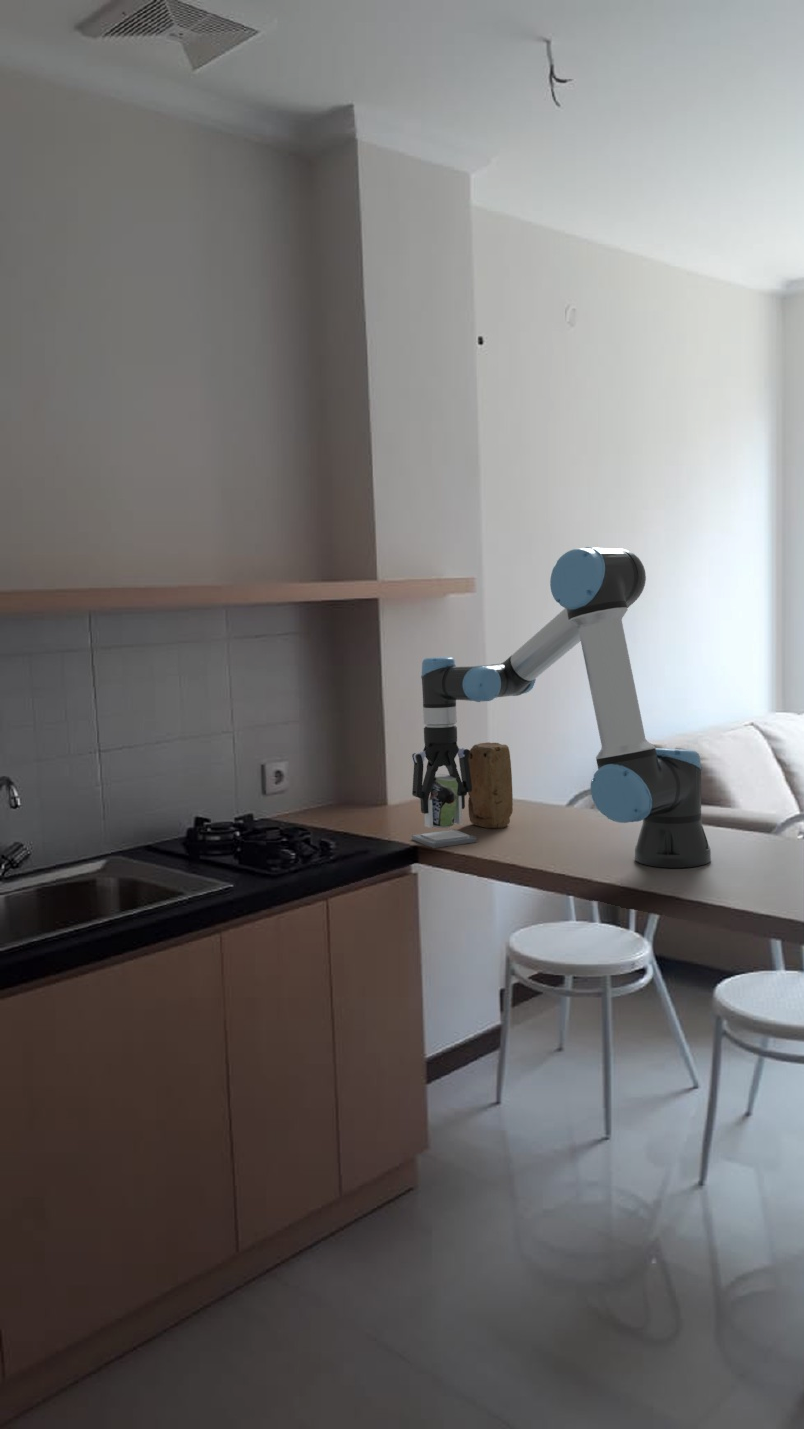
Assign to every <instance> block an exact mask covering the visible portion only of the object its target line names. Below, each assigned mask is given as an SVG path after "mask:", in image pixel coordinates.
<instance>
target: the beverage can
mask: <svg viewBox="0 0 804 1429" xmlns="http://www.w3.org/2000/svg"><path fill="white" fill-rule="evenodd" d="M457 790H458V783H457V781H456V778H454V777H452V776H450V775H449V774H435V778H434V781H433V785H432V788H431V792H430V795H429V799H432V812H433V828H437V829H448V828H450V827H452V826H453V825H455V823H454V817H455V808H456V799H457Z"/></svg>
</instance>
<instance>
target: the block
mask: <svg viewBox="0 0 804 1429" xmlns="http://www.w3.org/2000/svg"><path fill="white" fill-rule="evenodd" d="M469 751H470V754H469V759H468V760H469V768H470V775H471V783H472V791H471V792H467V795H468V804H467V805H468V818H469V822H470V823H471V824H473V825H475V826H479V827H481V828H485V829H501V828H506V827H507V826H508V825H509V824H510V823H511V816H512V814H513V809H514V808H513V805H514V803H513V799H514V798H513V796H514V795H513V794H514V793H513V777H512V776H513V775H512V774H513V773H512V760H511V754H510V753H511V752H510V749H509V746H508V745H507V744H501V743H499V742H480V743H478V744H477V743H476V744H474V745H472V747H471V748H470V749H469Z"/></svg>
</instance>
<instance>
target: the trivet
mask: <svg viewBox="0 0 804 1429" xmlns="http://www.w3.org/2000/svg"><path fill="white" fill-rule="evenodd" d="M411 840H413V841H415V842H418V843H421V844H422V845H425V846H428V847H429V848H432V849H435V848H444V847H451V846H457V845H465V844H472V843H477V842H478V840H477V837H476V836H474V835H471V834H468V833H465V832H462V831H459V830H456V829H450V830H440V831H434V832H433V831H432V832H425V833H419V834H412V835H411Z"/></svg>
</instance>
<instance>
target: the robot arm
mask: <svg viewBox="0 0 804 1429" xmlns="http://www.w3.org/2000/svg"><path fill="white" fill-rule="evenodd" d="M646 580H647V576H646V569H645V567H644V564H643V562H642V561H641V559H640V558H639V557H638V556H637V555H636V554H635V553H634V552H632V551H630V550H628V549H625V548H620V547H613V548H612V547H611V548H610V547H608V548H607V547H605V548H604V547H591V546H585V547H581V548H574V549H571V550H568V551H566V552H565V553H563V554H562V555H561V556H560V557H559V558H558V560H556V564H555V566H553V568H552V571H551V575H550V580H549V581H550V582H549V585H550V592H551V595H552V598H553V600H554V601H555V602H556V603H558V604H559V605H560V607H562V608H564V609H562V610H561V611H559V613H558V614H556V615H555V616H554V617H553V618H552V619H551V620H550V621H549V622H547V624H545V625H544V626H542V628H541V629H540V630H538V631H537V632H536V633H535V634H534V635H533V636H531V637H530V638H529V639H528V640H527V641H526V642H525V643H524V644H522V646H520V647H519V648H518V649H517V650H515V651H514V652H513V654H511V655H510V656H509V657H508V658H507V659H506V660H504V661H503V662H501V663H495V664H486V665H485V664H484V665H475V666H456V663H455V662H456V661H455V658H454V657H451V656H437V657H436V656H435V657H434V656H433V657H426V658H424V659H423V660H422V662H421V676H420V677H421V678H420V679H421V686H422V689H421V690H422V712H423V716H422V717H423V724H424V725H426V726H424V728H423V742H424V743H423V744H424V747H423V751H420V752H418V753H417V752H416V753H415V752H414V753H412V754H411V757H412V760H413V776H412V791H411V794H412V795H411V796H412V797H415V798H418V799H419V800H420V812H421V813H422V814H424V815H423V816H424V828H425V827H426V828H428V829H433V828H434V827H433V812H432V799H430V793H431V788H432V785H433V781H434V778H435V775H437V774H436V773H437V772H438V770H439V768H440V767H443V766H445V768H446V769H447V772H448V775H450V776H452V777H454V778H456V781H457V783H458V790H457V799H456V808H455V817H454V824H456V825H463V810H464V809H465V807H466V803H465V802H466V800H465V797H466V796H467V795H468V792H471V791H472V783H471V775H470V768H469V760H468V759H469V754H470V749H468V748H464V747H463V748H459V746H458V727H457V726H456V725H455V724H457V722H458V720H457V701H467V702H468V701H470V702H477V703H481V702H491V701H493V700H495V699H497V698H504V697H517V696H521V695H523V694H527V693H529V692H530V691H532V690H533V688H534V686H535V684H536V680H537V678H538V677H539V676H541V674H543V673H544V672H545V671H547V670H548V669H549V668H550V667H551V666H552V665H554V664H555V663H556V662H557V661H559V659H561V658H562V657H564V655H566V654H567V653H568V652H569V651H571V650H572V649H573V648H574V647H575V646H576V645H578V644H579V643H580V644H581V649H582V650H581V651H582V654H583V661H584V664H585V669H586V674H587V679H588V684H589V690H590V694H591V699H592V703H593V704H592V705H593V709H594V710H593V711H594V715H595V720H596V723H597V729H598V735H599V740H600V743H601V744H600V745H601V748H600V750H599V752H598V754H597V755H596V756H595V760H596V765H597V766H596V767H597V770H596V772H595V773H594V774H593V777H592V779H591V780H590V795H591V799H592V801H593V803H594V805H595V807H596V809H597V810H598V812H600V814H602V815H603V816H604V817H606V818H607V819H608V820H610V821H612V822H616V823H620V824H626V823H628V824H629V823H635V822H636V823H637V822H641V821H642V823H641V824H642V825H641V829H640V831H639V833H638V834H639V835H638V839H637V843H636V845H635V847H634V860H635V861H636V862H637V863H639V864H641V865H645V866H649V867H655V868H656V867H657V868H667V869H668V868H671V869H672V868H673V869H677V868H680V869H681V868H693V867H699V866H703V865H707V864H709V863H710V862H711V860H712V858H711V856H712V855H711V854H712V852H711V848H710V846H709V841H708V839H707V835H706V833H705V830H704V827H703V824H702V766H701V765H702V764H701V756H700V754H699V752H697V751H696V750H692V749H681V748H669V747H668V748H667V747H666V748H665V747H664V748H663V747H656V746H655V745H654V744H652V743H651V742H649V741H648V740H647V739H646V736H645V735H646V734H645V729H644V726H643V724H644V723H643V720H642V719H643V718H642V715H641V710H640V705H639V700H638V695H637V690H636V684H635V680H634V674H633V670H632V664H631V660H630V659H631V658H630V654H629V650H628V644H627V640H626V639H627V638H626V634H625V630H624V624H623V617H625V614H626V613H627V612H628V608H630V607H631V606H632V605H633V604H634V603H635V602H636V601H637V600H638V599H639V598H640V597H641V595H642V593H643V591H644V589H645V586H646ZM457 756H458V762H459V769H460V770H459V771H460V773H459V771H458V766H457V762H456V760H455V759H456V758H457ZM425 758H426V759H427V765H426V770H425V771H426V772H425V775H424V762H425ZM423 777H424V778H423Z"/></svg>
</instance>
